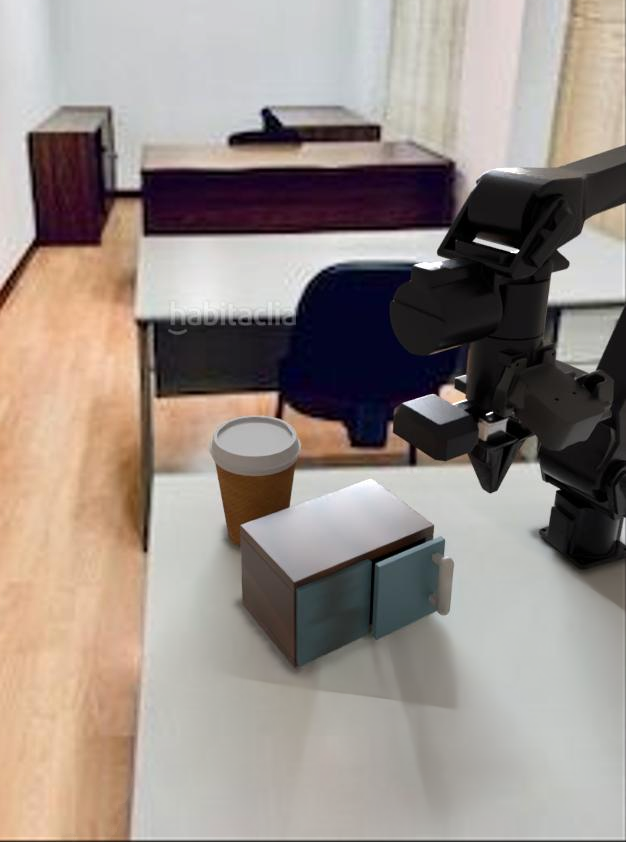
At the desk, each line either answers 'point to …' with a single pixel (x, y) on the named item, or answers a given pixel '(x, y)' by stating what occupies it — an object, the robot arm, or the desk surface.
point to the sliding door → (411, 587)
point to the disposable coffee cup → (254, 468)
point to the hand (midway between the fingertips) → (489, 490)
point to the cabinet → (323, 566)
